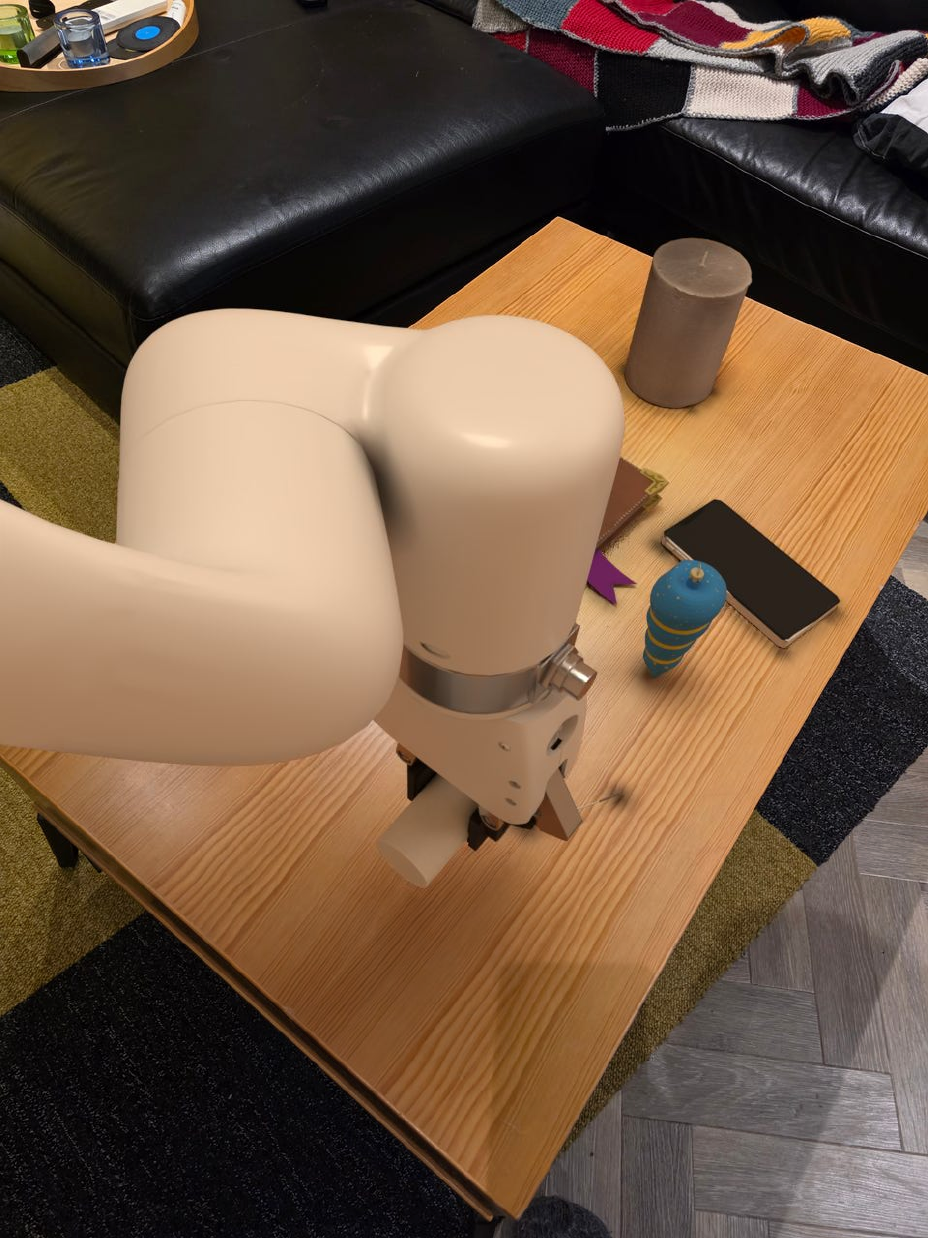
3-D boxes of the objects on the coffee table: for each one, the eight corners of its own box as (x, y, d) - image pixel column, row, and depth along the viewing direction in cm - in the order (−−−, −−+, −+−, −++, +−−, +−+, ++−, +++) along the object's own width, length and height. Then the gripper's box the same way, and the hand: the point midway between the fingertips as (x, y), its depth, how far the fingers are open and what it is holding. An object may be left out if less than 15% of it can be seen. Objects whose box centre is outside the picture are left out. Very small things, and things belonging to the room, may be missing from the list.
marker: (432, 898, 47) (418, 864, 44) (384, 865, 49) (368, 830, 46) (541, 767, 51) (534, 729, 49) (493, 741, 53) (484, 703, 51)
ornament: (686, 658, 74) (740, 544, 62) (681, 709, 71) (736, 600, 59) (626, 645, 75) (667, 529, 63) (619, 696, 72) (660, 585, 60)
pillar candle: (635, 342, 99) (666, 215, 87) (720, 364, 97) (764, 238, 85) (614, 395, 93) (644, 268, 81) (704, 419, 92) (749, 293, 80)
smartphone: (785, 644, 74) (659, 533, 81) (780, 652, 75) (656, 542, 82) (843, 599, 78) (718, 495, 84) (838, 606, 79) (714, 504, 85)
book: (599, 627, 77) (607, 595, 73) (399, 481, 86) (396, 445, 82) (705, 521, 83) (718, 486, 79) (509, 396, 92) (512, 358, 88)
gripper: (705, 674, 34) (615, 846, 49) (384, 470, 39) (391, 682, 54) (599, 815, 30) (537, 954, 45) (262, 570, 36) (306, 766, 51)
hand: (458, 804), depth 50 cm, fingers closed on marker, 3 cm apart
